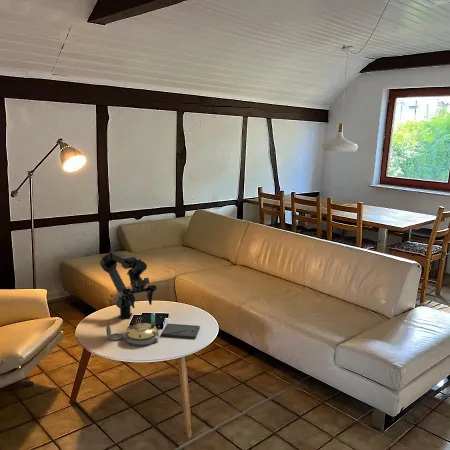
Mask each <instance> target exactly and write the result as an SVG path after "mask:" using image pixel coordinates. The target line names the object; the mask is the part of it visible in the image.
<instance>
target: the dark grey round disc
mask: <svg viewBox="0 0 450 450" xmlns="http://www.w3.org/2000/svg"><path fill="white" fill-rule="evenodd" d="M159 340H160V336H159V331H158V330H157V334H156V336H155V337H153V338H151V339H148V340H143V341H136V340H131V339H129V338H127V336H126V331H125V332H124V335H123V341H124V343H125V344H126V345H128V346H130V347H131V346H132V347H146V346H147V347H148V346H150V345H151V346H152V345H153V344H155V343H159Z"/></svg>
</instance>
